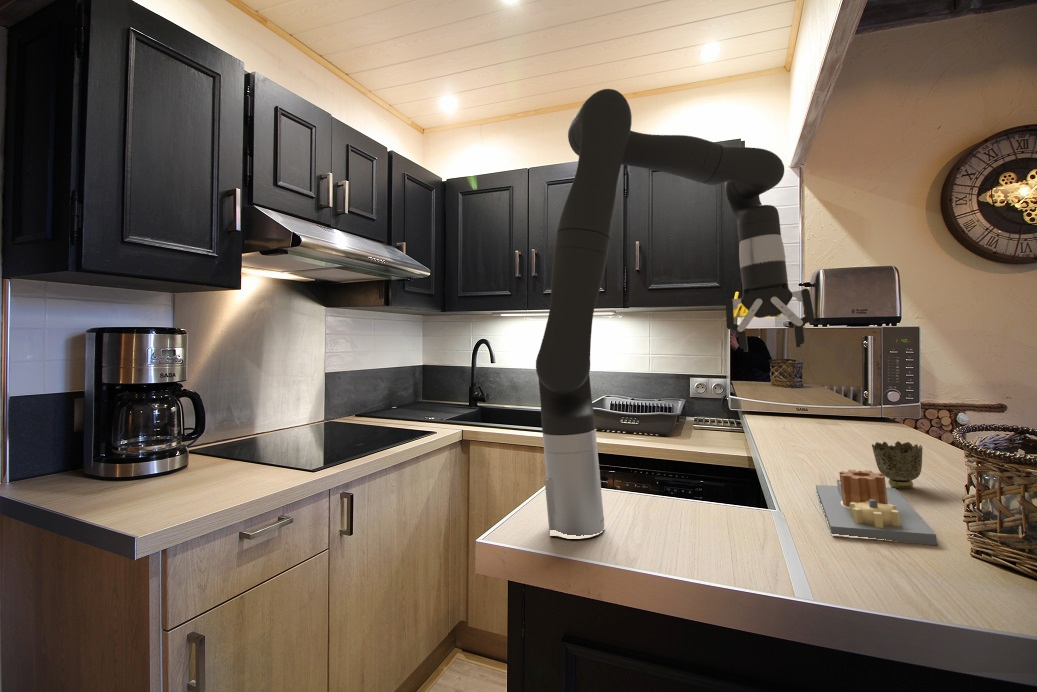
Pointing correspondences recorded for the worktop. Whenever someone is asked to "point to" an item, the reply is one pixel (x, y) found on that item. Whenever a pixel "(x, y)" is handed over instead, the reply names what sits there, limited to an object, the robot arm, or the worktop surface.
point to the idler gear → (862, 487)
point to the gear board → (874, 517)
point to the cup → (899, 463)
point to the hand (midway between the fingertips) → (771, 349)
